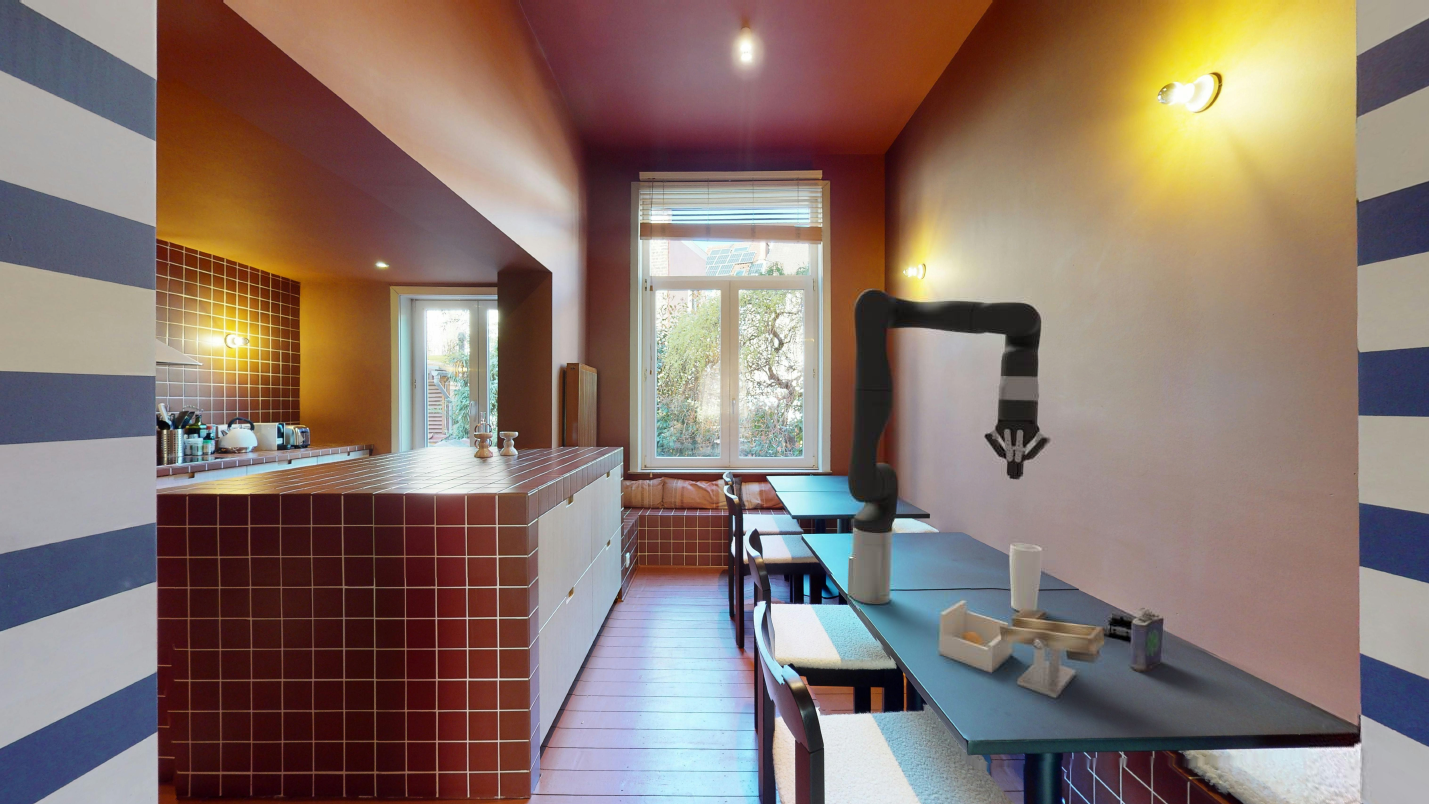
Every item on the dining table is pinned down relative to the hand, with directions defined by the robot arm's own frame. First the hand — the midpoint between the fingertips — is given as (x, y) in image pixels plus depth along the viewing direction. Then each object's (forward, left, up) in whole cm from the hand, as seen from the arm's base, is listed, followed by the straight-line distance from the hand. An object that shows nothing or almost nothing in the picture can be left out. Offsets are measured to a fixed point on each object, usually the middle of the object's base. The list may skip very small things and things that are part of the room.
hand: (1014, 478), depth 121 cm
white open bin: (-1, -17, -33) cm, 37 cm away
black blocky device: (+17, +16, -34) cm, 41 cm away
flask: (+23, +4, -33) cm, 41 cm away
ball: (-1, -17, -31) cm, 35 cm away
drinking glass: (-2, +16, -33) cm, 37 cm away
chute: (+13, -14, -28) cm, 34 cm away
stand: (+12, -17, -33) cm, 39 cm away
